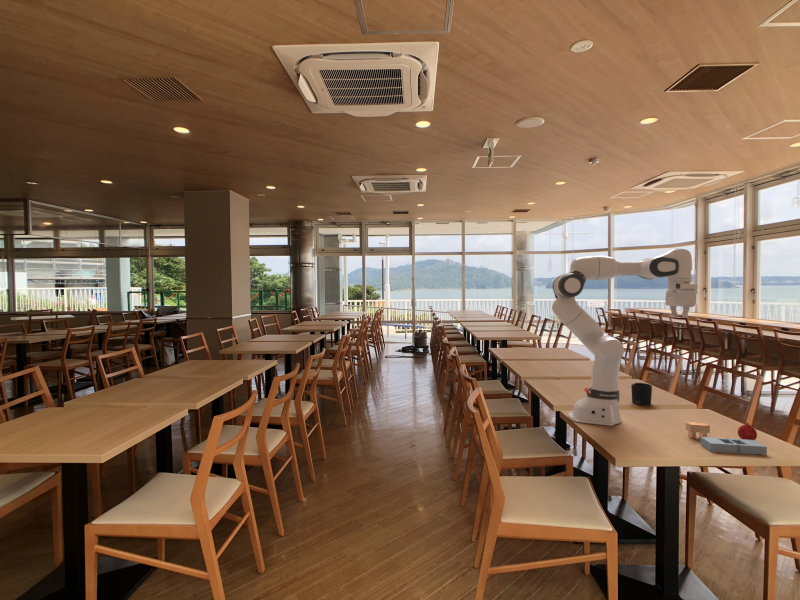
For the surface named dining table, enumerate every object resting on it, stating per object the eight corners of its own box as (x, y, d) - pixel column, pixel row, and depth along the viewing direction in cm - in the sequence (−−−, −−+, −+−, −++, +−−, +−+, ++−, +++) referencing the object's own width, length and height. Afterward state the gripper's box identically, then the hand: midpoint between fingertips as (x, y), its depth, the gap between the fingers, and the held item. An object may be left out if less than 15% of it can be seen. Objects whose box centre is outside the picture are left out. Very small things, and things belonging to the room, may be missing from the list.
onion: (737, 439, 164) (737, 419, 164) (756, 442, 160) (756, 422, 160) (737, 443, 159) (737, 422, 159) (757, 446, 156) (757, 425, 156)
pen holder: (627, 401, 222) (627, 382, 222) (645, 401, 222) (645, 382, 222) (637, 405, 213) (637, 386, 212) (655, 405, 212) (656, 386, 212)
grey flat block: (710, 451, 151) (710, 443, 151) (700, 444, 158) (700, 436, 158) (766, 455, 148) (766, 446, 148) (753, 447, 155) (753, 440, 155)
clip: (690, 438, 165) (690, 424, 165) (685, 435, 168) (685, 421, 168) (709, 439, 163) (709, 425, 163) (704, 436, 167) (705, 422, 167)
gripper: (661, 285, 193) (661, 315, 193) (683, 285, 173) (682, 317, 173) (676, 285, 192) (676, 315, 192) (699, 284, 172) (699, 317, 172)
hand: (679, 316), depth 182 cm, fingers open, 8 cm apart
